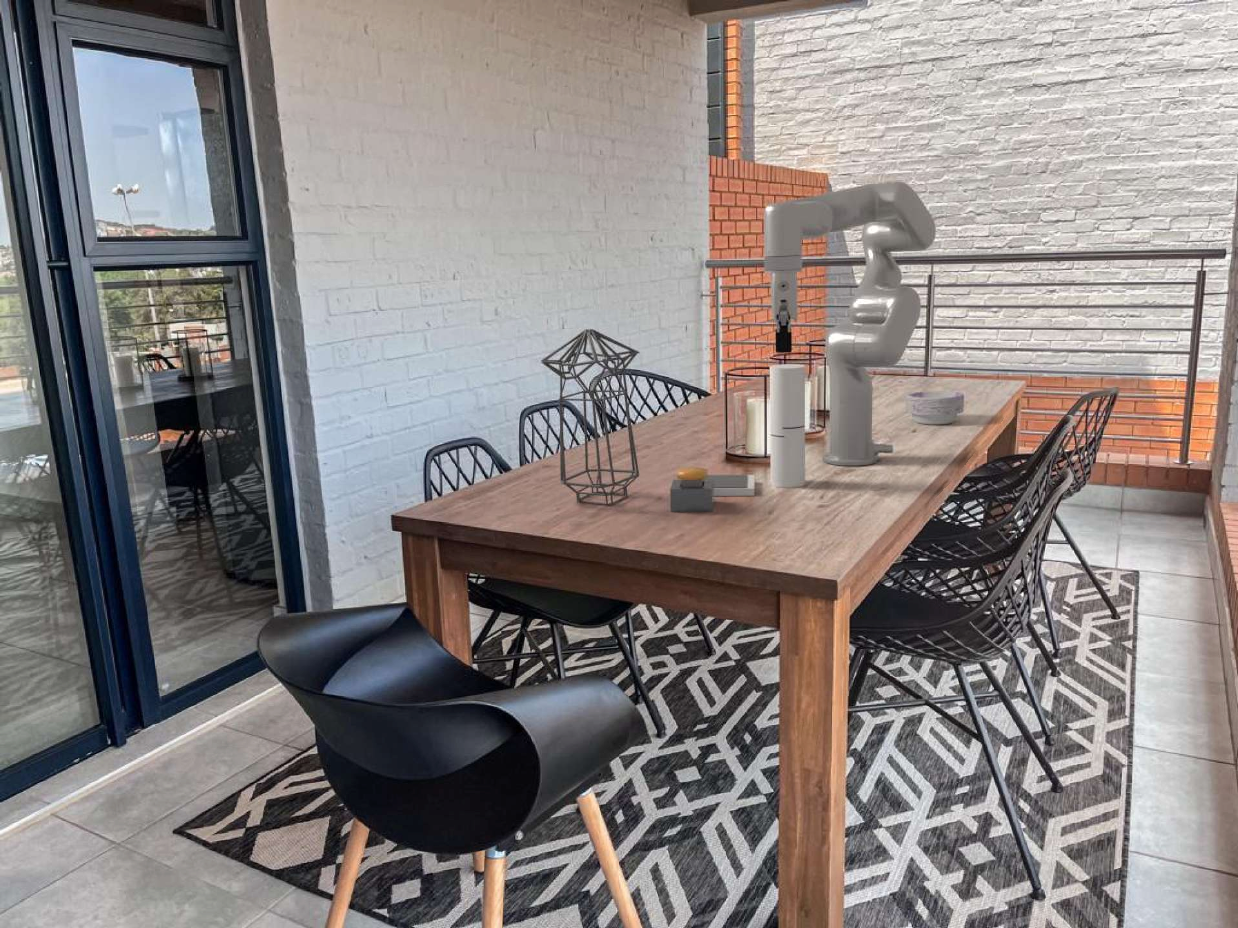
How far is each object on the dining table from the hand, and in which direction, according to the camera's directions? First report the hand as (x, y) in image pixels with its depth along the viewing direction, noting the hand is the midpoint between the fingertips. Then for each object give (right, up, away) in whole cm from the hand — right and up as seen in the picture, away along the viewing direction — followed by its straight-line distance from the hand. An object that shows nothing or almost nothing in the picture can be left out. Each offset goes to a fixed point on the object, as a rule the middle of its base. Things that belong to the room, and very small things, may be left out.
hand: (783, 350), depth 199 cm
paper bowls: (+53, -12, +67) cm, 86 cm away
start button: (-20, -30, -10) cm, 37 cm away
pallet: (-13, -29, +4) cm, 32 cm away
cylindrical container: (+2, -28, +6) cm, 29 cm away
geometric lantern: (-38, -31, 0) cm, 49 cm away
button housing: (-19, -32, -9) cm, 38 cm away
